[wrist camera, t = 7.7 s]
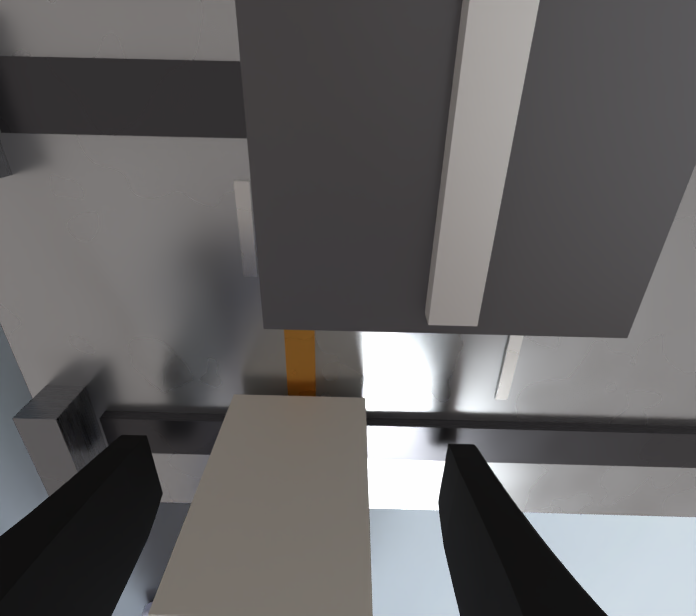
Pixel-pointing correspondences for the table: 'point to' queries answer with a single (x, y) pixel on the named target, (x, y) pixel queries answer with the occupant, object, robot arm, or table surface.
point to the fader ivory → (277, 515)
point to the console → (245, 298)
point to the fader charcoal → (465, 160)
